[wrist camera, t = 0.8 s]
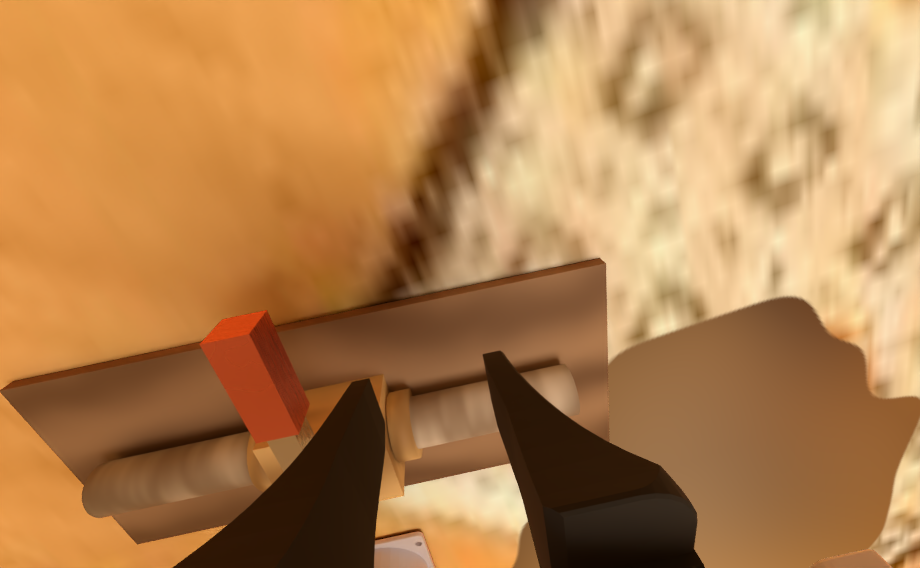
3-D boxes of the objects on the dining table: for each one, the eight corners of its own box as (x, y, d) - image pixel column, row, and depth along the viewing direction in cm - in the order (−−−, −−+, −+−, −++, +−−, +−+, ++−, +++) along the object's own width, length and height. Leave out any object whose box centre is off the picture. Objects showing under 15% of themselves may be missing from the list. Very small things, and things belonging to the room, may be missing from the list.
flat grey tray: (604, 432, 28) (638, 492, 24) (144, 533, 28) (94, 611, 23) (599, 258, 22) (643, 294, 18) (13, 381, 22) (-88, 450, 17)
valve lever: (352, 486, 21) (345, 528, 19) (319, 493, 21) (308, 536, 19) (270, 304, 16) (249, 334, 14) (227, 313, 16) (199, 344, 14)
